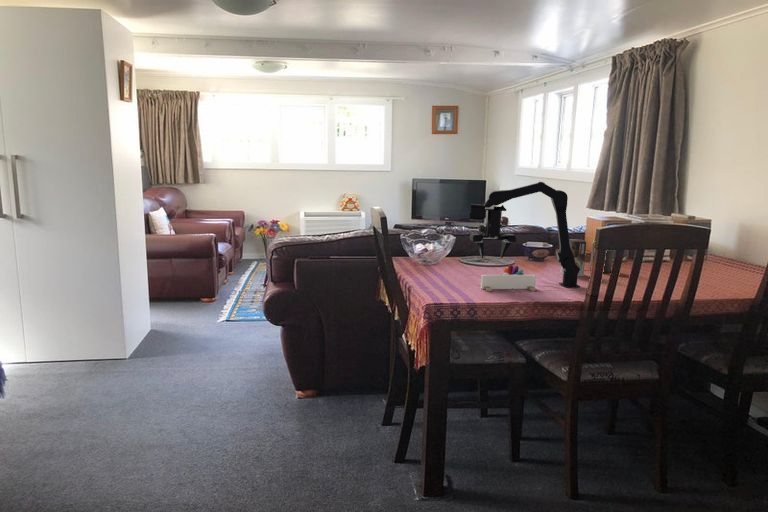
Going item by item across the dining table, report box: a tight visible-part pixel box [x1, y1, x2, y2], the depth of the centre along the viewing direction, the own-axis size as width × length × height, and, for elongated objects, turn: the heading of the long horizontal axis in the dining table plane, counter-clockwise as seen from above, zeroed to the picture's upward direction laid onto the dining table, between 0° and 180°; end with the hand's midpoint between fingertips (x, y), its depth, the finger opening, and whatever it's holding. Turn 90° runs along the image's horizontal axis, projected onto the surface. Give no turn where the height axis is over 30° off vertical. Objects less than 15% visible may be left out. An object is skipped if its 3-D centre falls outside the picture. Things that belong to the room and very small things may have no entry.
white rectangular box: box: [480, 274, 537, 292], centre depth 211 cm, size 6×22×6 cm, turn 97°
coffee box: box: [560, 238, 587, 277], centre depth 242 cm, size 9×6×16 cm
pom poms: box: [501, 264, 526, 275], centre depth 226 cm, size 8×10×7 cm
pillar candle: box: [589, 241, 614, 274], centre depth 252 cm, size 10×10×15 cm
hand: (491, 257), depth 224 cm, fingers open, 8 cm apart
